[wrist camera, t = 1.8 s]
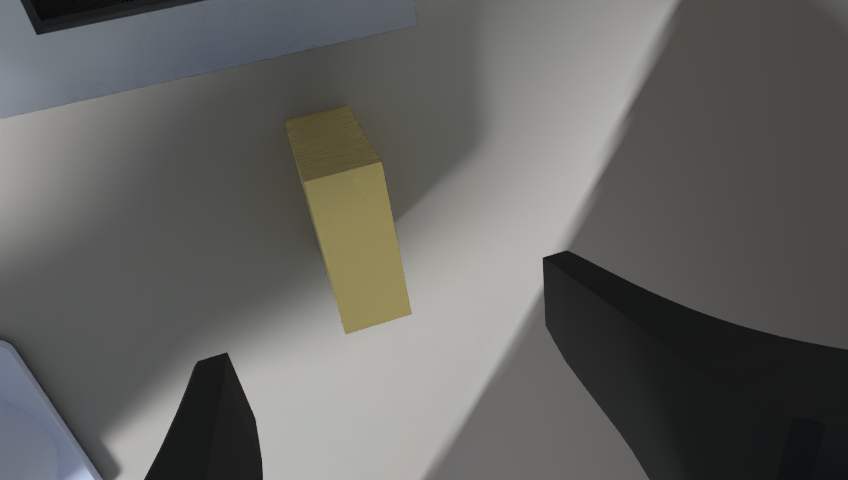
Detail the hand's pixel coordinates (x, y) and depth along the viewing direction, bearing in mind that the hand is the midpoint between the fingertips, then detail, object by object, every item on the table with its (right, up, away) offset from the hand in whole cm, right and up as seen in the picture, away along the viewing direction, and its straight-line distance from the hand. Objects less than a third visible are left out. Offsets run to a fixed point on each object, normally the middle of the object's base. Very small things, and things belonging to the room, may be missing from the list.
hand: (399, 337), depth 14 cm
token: (-2, +4, +7) cm, 8 cm away
